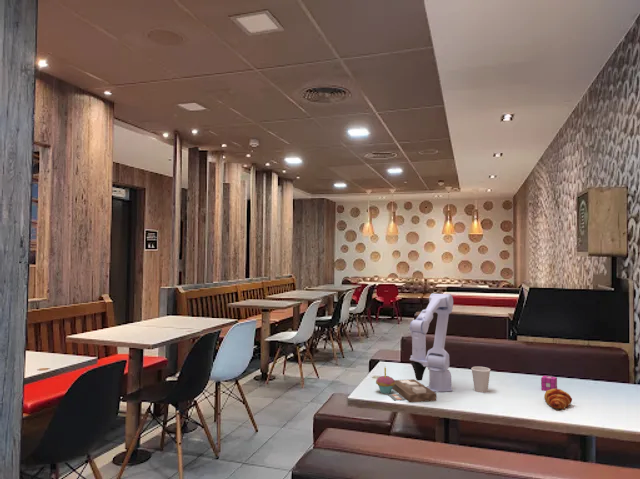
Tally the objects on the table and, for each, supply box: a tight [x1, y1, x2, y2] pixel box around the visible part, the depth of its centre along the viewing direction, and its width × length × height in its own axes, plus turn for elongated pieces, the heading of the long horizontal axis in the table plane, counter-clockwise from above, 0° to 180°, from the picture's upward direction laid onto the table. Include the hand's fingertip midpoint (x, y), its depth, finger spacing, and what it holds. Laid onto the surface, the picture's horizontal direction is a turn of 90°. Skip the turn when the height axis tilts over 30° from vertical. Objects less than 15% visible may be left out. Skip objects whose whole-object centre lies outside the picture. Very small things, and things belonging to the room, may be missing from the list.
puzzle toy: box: [540, 375, 558, 392], centre depth 211 cm, size 6×6×6 cm
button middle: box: [406, 382, 419, 388], centre depth 204 cm, size 4×4×3 cm
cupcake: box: [375, 367, 395, 395], centre depth 206 cm, size 9×8×12 cm
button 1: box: [398, 379, 410, 384], centre depth 212 cm, size 4×4×3 cm
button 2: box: [412, 387, 426, 394], centre depth 196 cm, size 4×4×3 cm
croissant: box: [543, 388, 573, 410], centre depth 190 cm, size 21×10×8 cm, turn 153°
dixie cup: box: [470, 366, 491, 393], centre depth 209 cm, size 8×8×10 cm
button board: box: [392, 378, 437, 403], centre depth 204 cm, size 12×24×3 cm, turn 11°
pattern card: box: [387, 393, 407, 402], centre depth 197 cm, size 5×8×1 cm, turn 11°
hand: (419, 380), depth 196 cm, fingers closed
